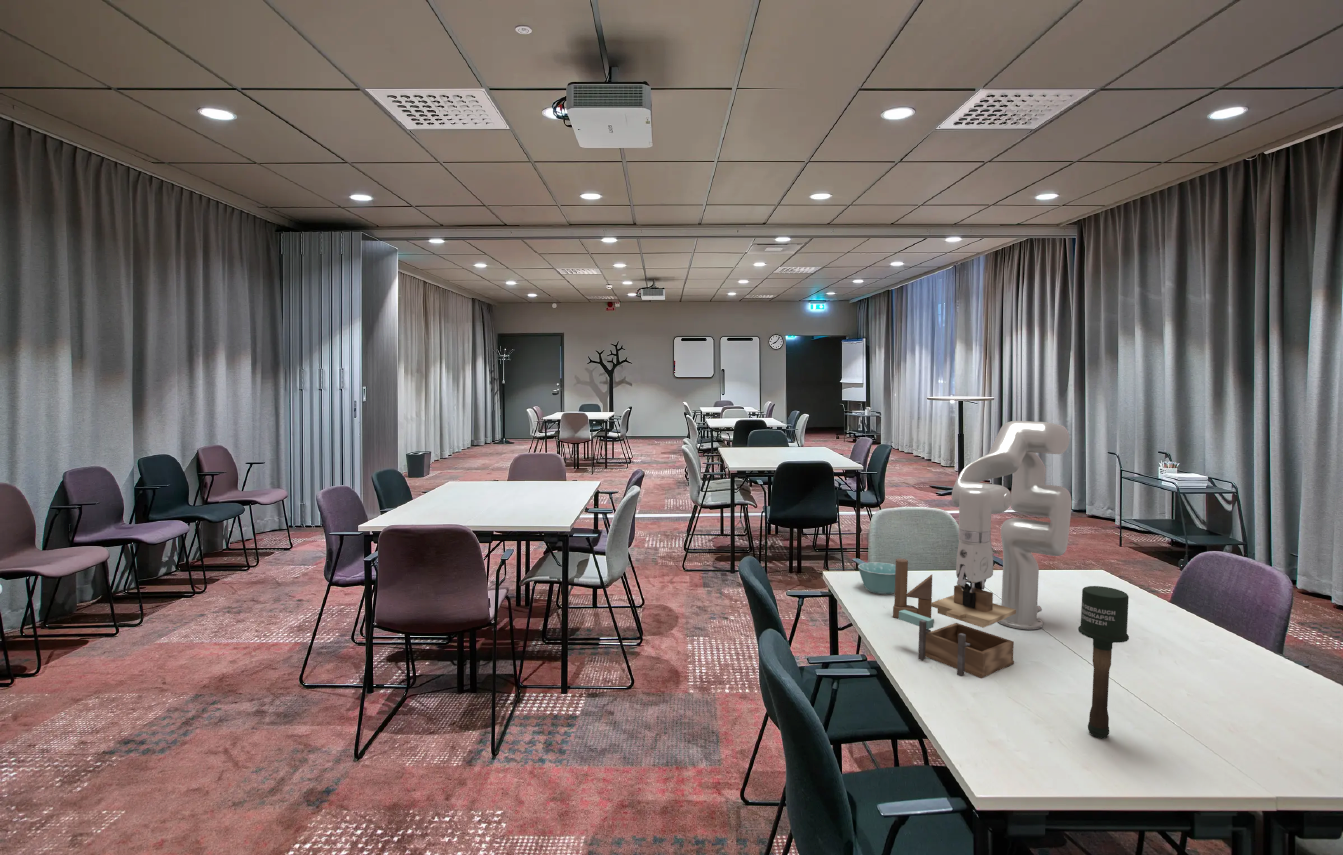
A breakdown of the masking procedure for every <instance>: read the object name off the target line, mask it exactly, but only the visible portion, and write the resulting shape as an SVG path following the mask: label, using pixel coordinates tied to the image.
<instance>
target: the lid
mask: <svg viewBox="0 0 1343 855" xmlns="http://www.w3.org/2000/svg"><path fill="white" fill-rule="evenodd" d="M974 593H976V597H975V608H970V607H967V606H964V605H963V591H962V588H961V586H959V585H957V584H956V585H953V595H950V596H946V597H944V598H941V599H938V600H935V601H932V603H931V607H932V608H935V609H937V614H939V615H942V616H945V617H948V618H952V619H955V620H958V621H961V622H964V623H966V624H970V625H973V626H977V627H978V628H979V627H980V628H986V627H988V626H992V625H993V624H996V623H999V622H998V621H1001V620H1003V619H1006V618H1007V617H1009V616H1011V615H1014V614H1016V610H1015V609H1012V608H1008V607H1005V606H1001V605H1002V604H998V603H994V602H993V601H994V600H993V598H994V597H993V596H994V592H990V591H987V590H985V589H984V590H981V589H977V588H974Z"/></svg>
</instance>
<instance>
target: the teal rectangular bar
mask: <svg viewBox="0 0 1343 855" xmlns="http://www.w3.org/2000/svg"><path fill="white" fill-rule="evenodd" d="M898 620H900V621H903V622H905V623H909V624H912V625H914V626H917V627H919V621H920V620H924V621H926V629H929V630H931V629H933V628H934V623H935V620H934V618H932V617H931V618H928V617H925V616H922V615H919V614H916V613H913V612H910V611H907V610H901V611H899V618H898Z"/></svg>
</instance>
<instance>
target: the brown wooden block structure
mask: <svg viewBox="0 0 1343 855" xmlns="http://www.w3.org/2000/svg"><path fill="white" fill-rule="evenodd" d="M908 561H909V560H908V559H905V558H900V557H899V558H895V565H896V566H895V593H894V604H893V607H892V618H895V619H899V611H901V610H907V611H910V612H913V613H916V614H919V615H922V616H925V617H928V618H931V619H932V608H933V607H931V603H932V602H933V600H932V597H933V574H930V575H929V576H928V577H926V578H925V579H923V581H921V582H920V583H918V584H917V585H916V586H915V587H913V588H911V590H909V591H908V577H909V576H908V575H909V574H908V573H909V572H908V571H909V567H908V566H909V562H908ZM908 598H914V599H917V600H918V601H917V607H916V606H914V605H912V604H911V605H909V604H908Z"/></svg>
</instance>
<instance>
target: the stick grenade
mask: <svg viewBox="0 0 1343 855" xmlns="http://www.w3.org/2000/svg"><path fill="white" fill-rule="evenodd" d="M1081 591H1082V592H1081V606H1080V607H1081V608H1080V609H1081V610H1080V625H1079V626H1078V628H1077V629H1078V632H1079V633H1080V634H1081V635H1082V636H1085V637H1087V638H1089V639H1092V666H1093V671H1092V672H1093V674H1092V676H1093V678H1092V695H1091V697H1092V698H1091V707H1090V710H1089V715H1088V716H1089V718H1088V719H1089V720H1088V724H1087V730H1088V733H1089V734H1090V735H1091V736H1093V737H1094V738H1097V739H1106V738H1108V736H1109V735H1110V727H1109V723H1110V722H1109V720H1110V717H1109V712H1108V704H1109V703H1108V702H1109V683H1110V680H1109V679H1110V671H1111V670H1110V669H1111V666H1112V654H1113V653H1112V652H1113V644H1115V643H1116V644H1117V643H1125V642H1128V641H1129V640H1130V636H1129V634H1128V617H1129V598H1130V597H1129V595H1128V593H1127V592H1125V591H1122V590H1120V589H1117V588H1114V587H1113V588H1112V587H1108V586H1101V585H1100V586H1099V585H1087V586H1084V587H1083V588H1082V590H1081Z"/></svg>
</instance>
